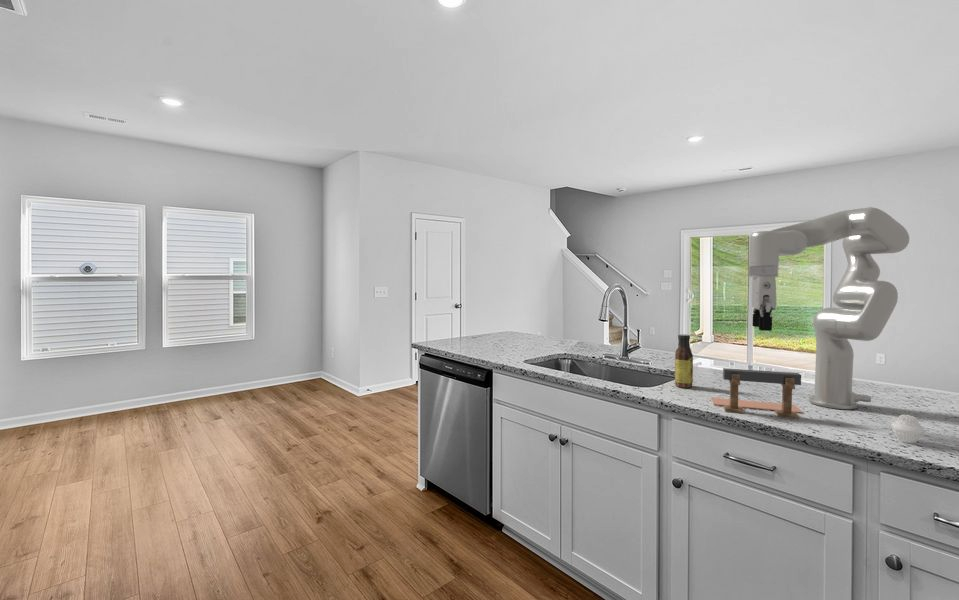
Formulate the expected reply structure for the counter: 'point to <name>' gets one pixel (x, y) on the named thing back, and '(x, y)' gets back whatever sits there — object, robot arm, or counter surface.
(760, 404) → the mat
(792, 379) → the hook stands
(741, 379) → the rail
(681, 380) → the sauce bottle
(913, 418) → the muffin
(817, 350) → the robot arm
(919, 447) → the counter surface
